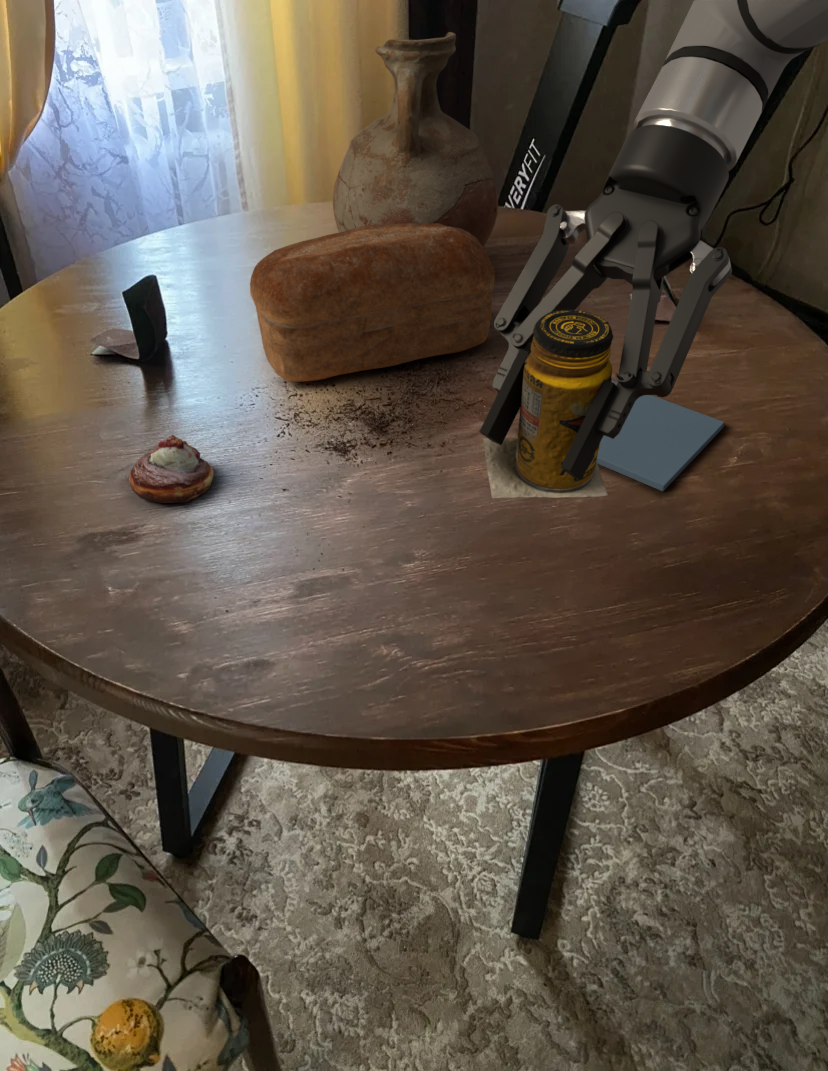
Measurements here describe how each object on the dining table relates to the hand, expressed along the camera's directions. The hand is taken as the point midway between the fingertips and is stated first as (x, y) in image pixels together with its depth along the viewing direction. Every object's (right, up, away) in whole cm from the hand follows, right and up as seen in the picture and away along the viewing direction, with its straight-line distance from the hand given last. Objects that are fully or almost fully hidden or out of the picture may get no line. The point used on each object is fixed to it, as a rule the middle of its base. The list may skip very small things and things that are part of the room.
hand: (529, 455), depth 59 cm
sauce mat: (+14, +5, +30) cm, 34 cm away
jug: (-8, +30, +58) cm, 66 cm away
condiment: (+2, -1, +5) cm, 5 cm away
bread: (-13, +17, +43) cm, 48 cm away
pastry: (-32, -1, +24) cm, 40 cm away
